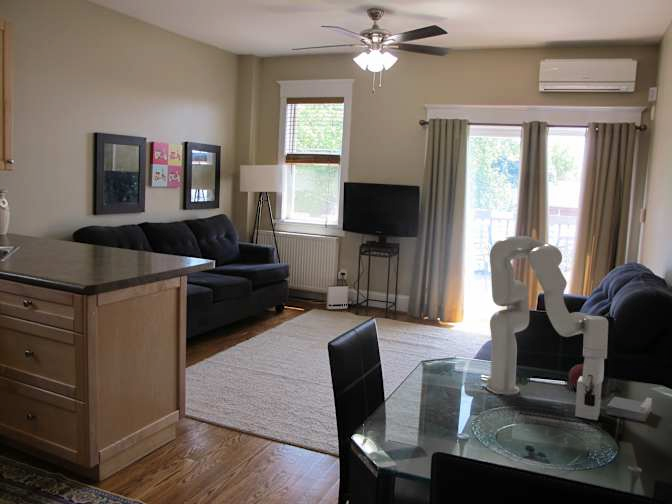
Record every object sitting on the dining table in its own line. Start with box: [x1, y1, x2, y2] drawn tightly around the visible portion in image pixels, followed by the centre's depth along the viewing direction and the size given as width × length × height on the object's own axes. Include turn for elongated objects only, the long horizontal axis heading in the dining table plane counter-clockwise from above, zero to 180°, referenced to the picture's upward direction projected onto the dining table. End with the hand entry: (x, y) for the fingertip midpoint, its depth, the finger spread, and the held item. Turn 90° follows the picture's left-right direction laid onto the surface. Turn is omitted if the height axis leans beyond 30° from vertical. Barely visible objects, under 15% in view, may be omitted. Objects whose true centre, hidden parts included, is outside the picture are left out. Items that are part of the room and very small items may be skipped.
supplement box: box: [574, 376, 603, 421], centre depth 205 cm, size 7×7×13 cm
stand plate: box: [605, 396, 652, 423], centre depth 208 cm, size 12×12×5 cm
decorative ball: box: [568, 363, 584, 389], centre depth 233 cm, size 10×10×10 cm
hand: (592, 401), depth 205 cm, fingers open, 8 cm apart
